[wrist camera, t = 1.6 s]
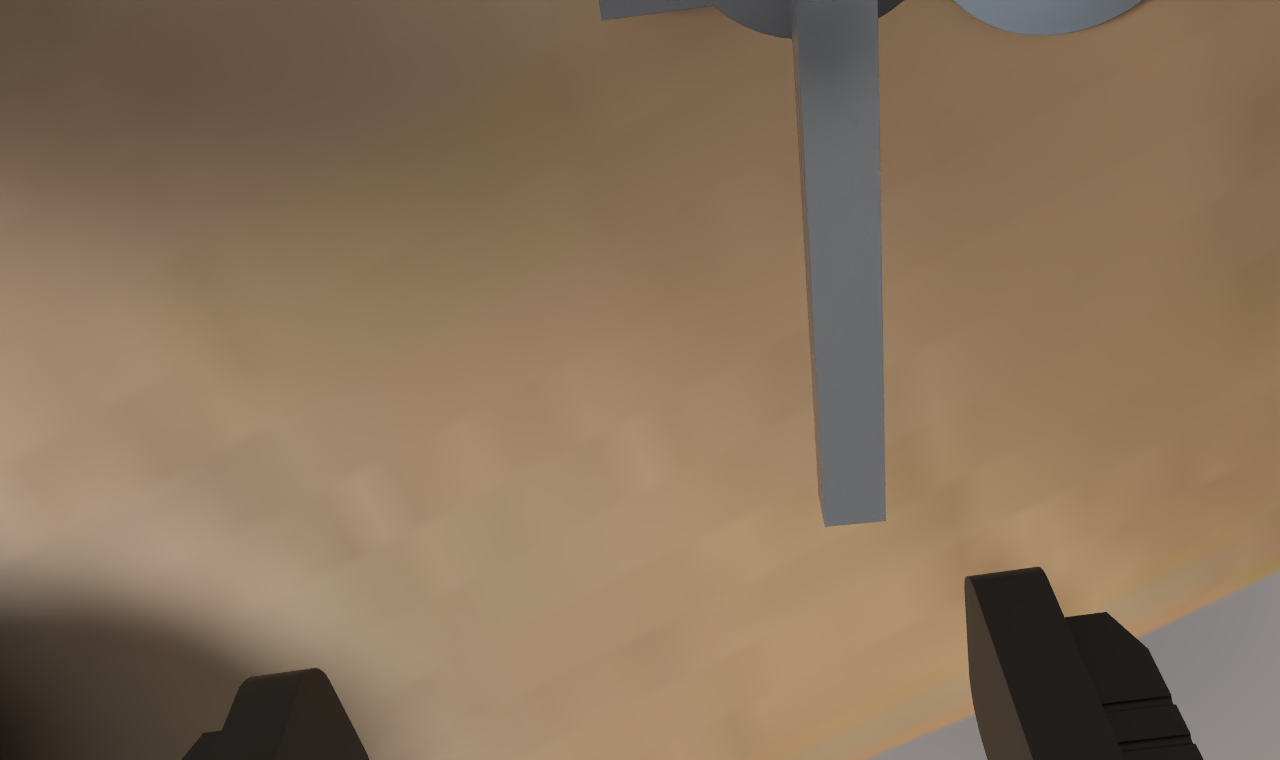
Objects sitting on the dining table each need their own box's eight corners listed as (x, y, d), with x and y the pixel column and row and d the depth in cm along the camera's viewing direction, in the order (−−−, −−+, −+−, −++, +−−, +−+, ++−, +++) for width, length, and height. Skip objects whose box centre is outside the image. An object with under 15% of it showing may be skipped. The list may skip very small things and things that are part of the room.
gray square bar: (644, -918, 12) (642, -1062, 10) (941, -977, 12) (1014, -1140, 9) (770, 499, 23) (784, 599, 21) (925, 484, 23) (959, 583, 20)
